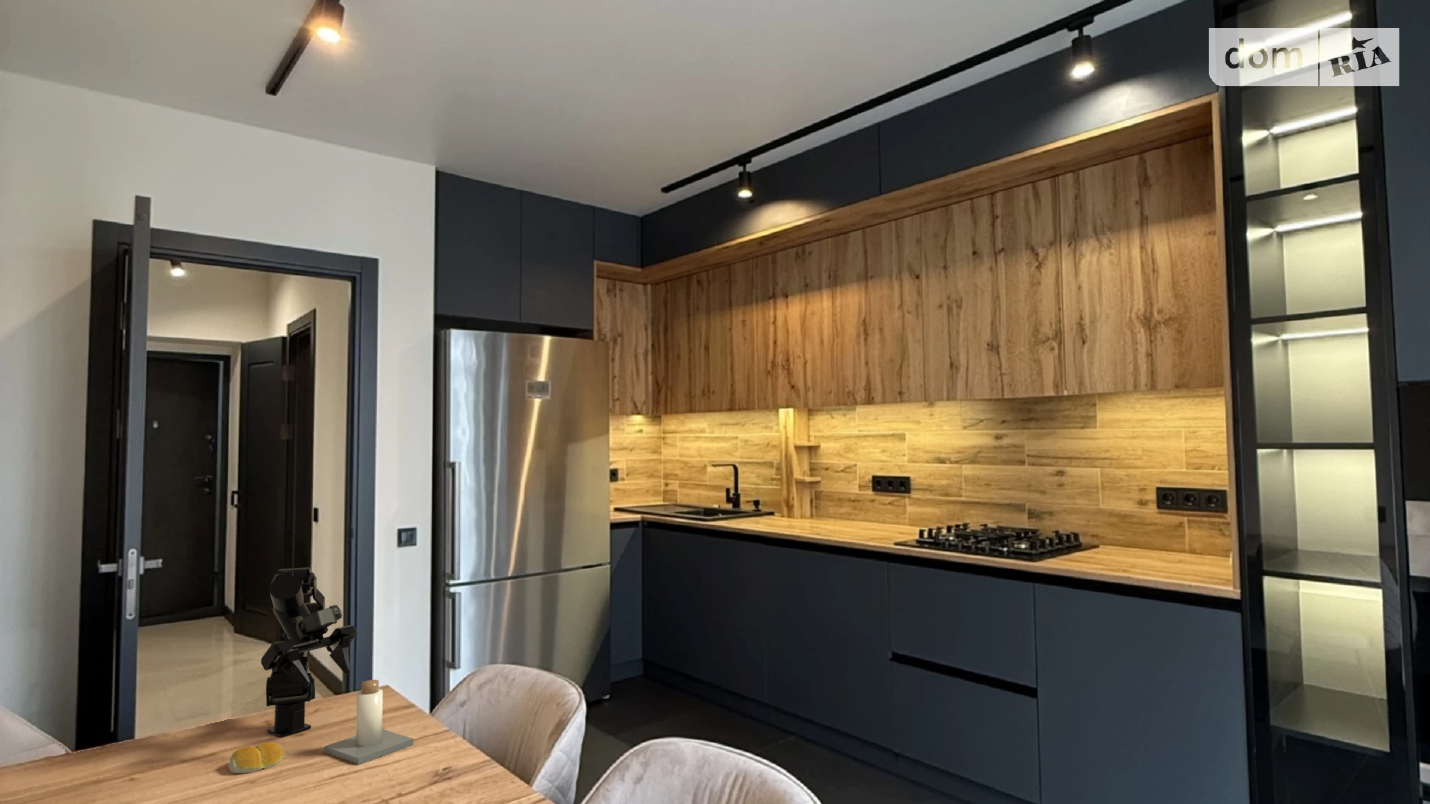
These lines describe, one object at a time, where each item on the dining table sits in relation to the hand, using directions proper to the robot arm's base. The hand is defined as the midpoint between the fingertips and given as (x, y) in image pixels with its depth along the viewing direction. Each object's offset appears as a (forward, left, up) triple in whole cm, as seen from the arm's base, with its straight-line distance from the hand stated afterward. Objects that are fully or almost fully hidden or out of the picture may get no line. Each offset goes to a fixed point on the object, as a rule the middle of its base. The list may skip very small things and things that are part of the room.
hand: (329, 678), depth 154 cm
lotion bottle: (+8, +4, -12) cm, 15 cm away
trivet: (+9, +4, -14) cm, 17 cm away
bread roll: (-3, -13, -14) cm, 19 cm away
